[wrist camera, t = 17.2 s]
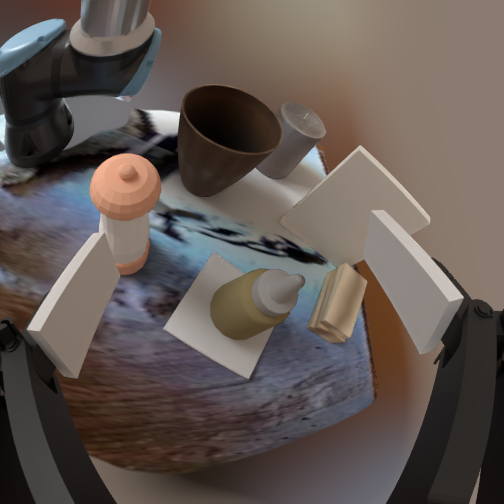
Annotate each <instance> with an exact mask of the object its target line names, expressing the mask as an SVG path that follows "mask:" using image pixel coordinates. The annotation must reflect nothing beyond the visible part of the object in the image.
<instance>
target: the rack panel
mask: <svg viewBox="0 0 504 504" xmlns="http://www.w3.org/2000/svg"><path fill="white" fill-rule="evenodd" d="M371 210H384V211H385V212H386V213H387V214H388V215H390V216H391V217H392V218H393V219H394V220H395V221H396V222H397V223H398V224H399V225H400V226H401V227H402V228H403V229H404V230H405V231H406V232H407V233H408V234H409V235H411V234H413V233H415V232H416V231H418V230H420V229H422V228H424V227H425V226H427V225H429V224H430V217H429V215H428V214H427V213H426V212H425V211H424V210H423V209H422V207H421V206H420V205H419V204H418V203H417V202H416V201H415V199H414V198H413V197H412V196H411V195H410V194H409V193H408V192H407V191H406V189H405V188H404V187H403V186H402V185H401V184H400V183H399V182H398V181H397V180H396V179H395V178H394V177H393V176H392V175H391V174H390V173H389V172H388V171H387V170H386V169H385V168H384V167H383V166H382V165H381V164H380V163H379V162H378V161H377V160H376V159H375V158H374V157H372V155H370V154H369V153H368V152H367V151H366V150H365V149H364V148H363V147H362V146H359V147H358V148H357V149H355V150H354V151H353V152H352V153H351V154H350V155H349V156H348V157H347V158H346V159H345V160H344V161H342V162H341V164H339V165H338V166H337V167H336V168H335V169H334V170H333V171H332V172H331V173H329V174H328V175H327V176H326V177H325V178H324V179H323V180H322V181H321V182H320V183H319V184H318V185H317V186H315V187H314V188H313V189H312V190H311V191H310V192H309V193H308V194H307V195H306V196H305V197H304V198H303V199H301V200H300V201H299V202H298V203H297V204H296V205H295V206H294V207H293V208H292V209H291V210H290V211H289V212H288V213H286V214H285V215H284V216H283V217H282V219H281V220H280V222H279V223H280V224H281V225H282V226H284V227H285V228H286V229H288V230H289V231H290V232H292V233H293V234H294V235H296V236H297V237H298V238H300V239H301V240H302V241H304V242H305V243H306V244H308V245H309V246H310V247H311V248H313V249H314V250H315V251H317V252H318V253H319V254H320V255H322V256H323V257H324V258H326V259H327V260H328V261H329V262H331V263H332V264H333V265H334V266H336V267H337V268H339V266H340V265H342V264H344V263H347V264H348V265H349V266H352V265H354V264H356V263H358V262H360V261H362V260H364V258H363V254H364V249H365V243H366V238H367V232H368V226H369V219H370V213H371Z"/></svg>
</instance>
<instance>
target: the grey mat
mask: <svg viewBox="0 0 504 504" xmlns="http://www.w3.org/2000/svg"><path fill="white" fill-rule="evenodd" d="M244 274H245V273H244V272H242V271H241V270H239V269H238V268H236V267H235V266H233V265H232V264H231V263H229V262H228V261H226V260H225V259H223V258H222V257H221V256H219V255H218V254H216V253H215V252H213V253H212V255H211V256H210V258H209V259H208V261H207V262H206V264H205V265H204V267H203V268H202V270H201V271H200V273H199V274H198V276H197V277H196V279H195V280H194V282H193V283H192V285H191V287H190V288H189V290H188V291H187V293H186V294H185V296H184V297H183V299H182V300H181V302H180V304H179V305H178V307H177V308H176V310H175V311H174V313H173V314H172V316H171V318H170V319H169V321H168V322H167V324H166V326H165V327H164V329H163V330H165V331H166V332H168V333H169V334H171V335H172V336H174V337H175V338H177V339H179V340H180V341H182V342H183V343H185V344H186V345H188V346H190V347H191V348H193V349H195V350H196V351H198V352H199V353H201V354H203V355H204V356H206V357H208V358H210V359H211V360H213V361H215V362H216V363H218V364H220V365H222V366H223V367H225V368H227V369H229V370H231V371H232V372H234V373H236V374H238V375H240V376H242V377H244V378H246V379H249V378H250V376H251V374H252V372H253V370H254V368H255V366H256V364H257V361H258V359H259V357H260V355H261V353H262V351H263V349H264V347H265V345H266V343H267V341H268V339H269V337H270V334H271V332H272V330H273V328H274V327H272V328H270V329H268V330H266V331H264V332H261V333H259V334H257V335H255V336H253V337H251V338H249V339H247V340H233V339H231V338H229V337H226V336H224V335H223V334H222V333H221V332H220V331H219V330H218V329H217V328H216V327H215V326H214V324H213V322H212V319H211V316H210V302H211V300H212V297H213V295H214V293H215V292H216V291H217V290H218V289H219V288H220V287H221V286H222V285H224V284H226V283H228V282H230V281H232V280H234V279H236V278H238V277H240V276H242V275H244Z"/></svg>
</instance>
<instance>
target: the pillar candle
mask: <svg viewBox="0 0 504 504" xmlns="http://www.w3.org/2000/svg"><path fill="white" fill-rule="evenodd" d="M276 116H277V117H278V119H279V121H280V123H281V126H282V129H283V139H282V142H281V144H280V145H279V146H278V147H277V148H276V149H275V150H274V151H273V152H272V153H271V154H270V155H269V156H268V157H267V158H265V159H264V160H263V161H262V162H261V163H260V164H259V165H258V166H256V168H257V169H258V170H259V171H260V172H261V173H263V174H264V175H266V176H268V177H271V178H274V179H280V178H283V177H286V176H287V175H288V174H289V173H290V172H291V171H292V170H293V169H294V168H295V167H296V166H297V165H298V163H299V162H300V161H301V160H302V159H303V158H304V157H305V156H306V155H307V154H308V152H309V151H310V150H311V149H312V148H313V147H314V146H315V145H316V144H317V143H318V142H319V141H320V140H321V138H322V137H323V136H324V135H325V134H326V130H325V128H324V125H323V123H322V121H321V120H320V118H319V117H318V116H317V115H316V114H315V113H314V112H312V111H311V110H310V109H308V108H307V107H305V106H303V105H301V104H298V103H295V102H286V103H284V104H283V105H282V107H281V108H280V109H279V110H278V112H277V113H276Z"/></svg>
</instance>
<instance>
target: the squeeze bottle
mask: <svg viewBox="0 0 504 504" xmlns="http://www.w3.org/2000/svg"><path fill="white" fill-rule="evenodd" d="M304 284H305V279H304V277H303V276H302V275H300V274H296V275H289V274H288V273H286V272H284V271H282V270H278V269H272V270H270V269H261V268H260V269H257V270H254V271H251V272H249V273H247V274H244V275H242V276H240V277H238V278H236V279H234V280H232V281H230V282H228V283H226V284H224V285H222V286H221V287H220V288H219V289H218V290H217V291H216V292H215V293H214V295H213V297H212V300H211V302H210V316H211V319H212V322H213V324H214V326H215V327H216V328H217V329H218V330H219V331H220V332H221V333H222V334H223V335H224V336H226V337H229V338H231V339H233V340H247V339H249V338H251V337H253V336H255V335H257V334H259V333H261V332H264V331H266V330H268V329H270V328H272V327H274V326H276V325H278V324H280V323H282V322H283V321H284V320H285V319H286V318H287V316H288V315H289V314H290V311H291V310H292V309H293V307H294V306H295V305H296V303H297V299H298V291H299V290H300V289H301V288H302V287H303V286H304Z"/></svg>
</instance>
